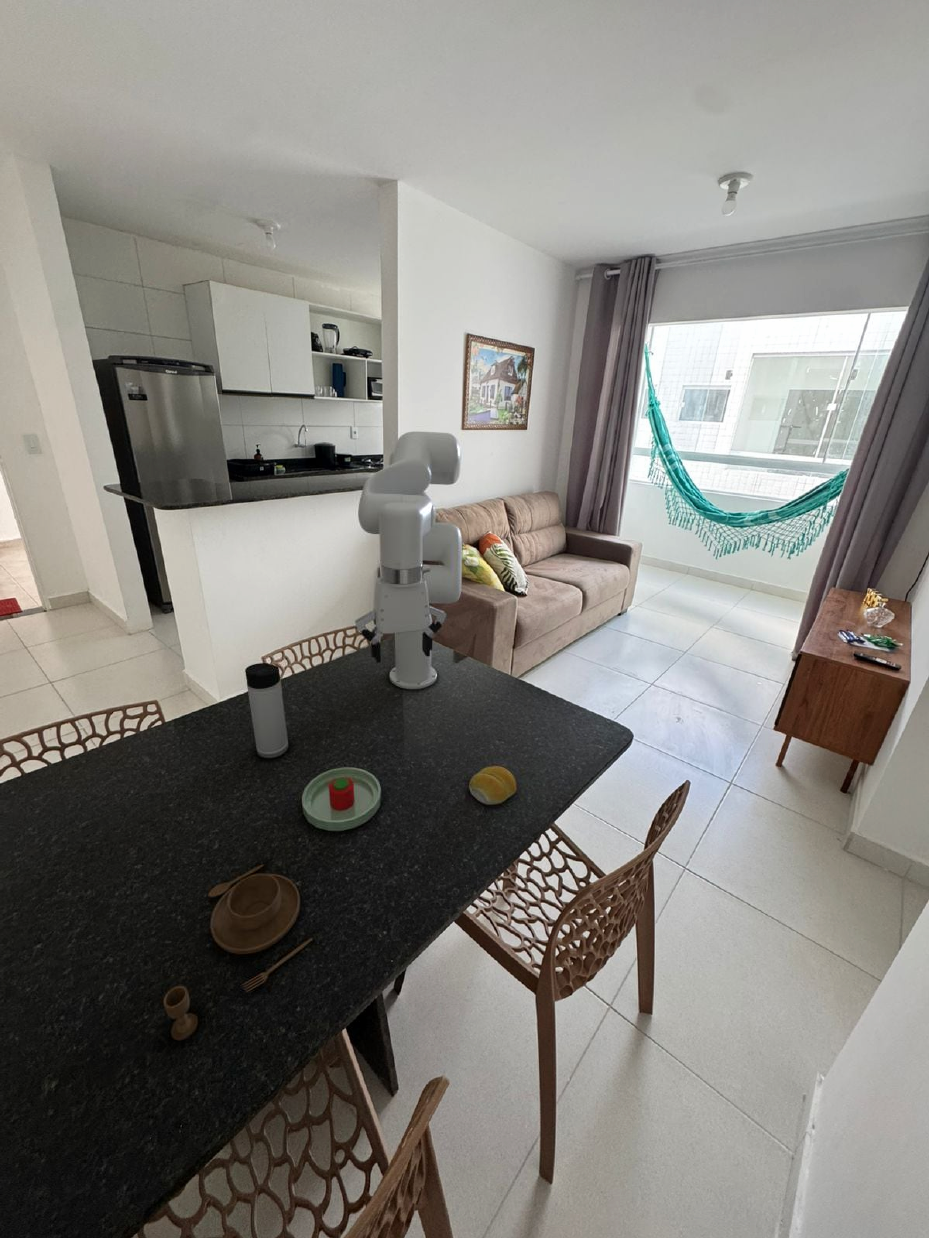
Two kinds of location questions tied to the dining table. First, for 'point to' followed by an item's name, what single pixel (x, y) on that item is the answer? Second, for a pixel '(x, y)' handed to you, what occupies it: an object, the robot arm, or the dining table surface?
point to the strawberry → (341, 793)
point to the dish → (333, 820)
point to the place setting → (243, 931)
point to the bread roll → (492, 785)
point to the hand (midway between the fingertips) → (402, 656)
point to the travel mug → (267, 709)
